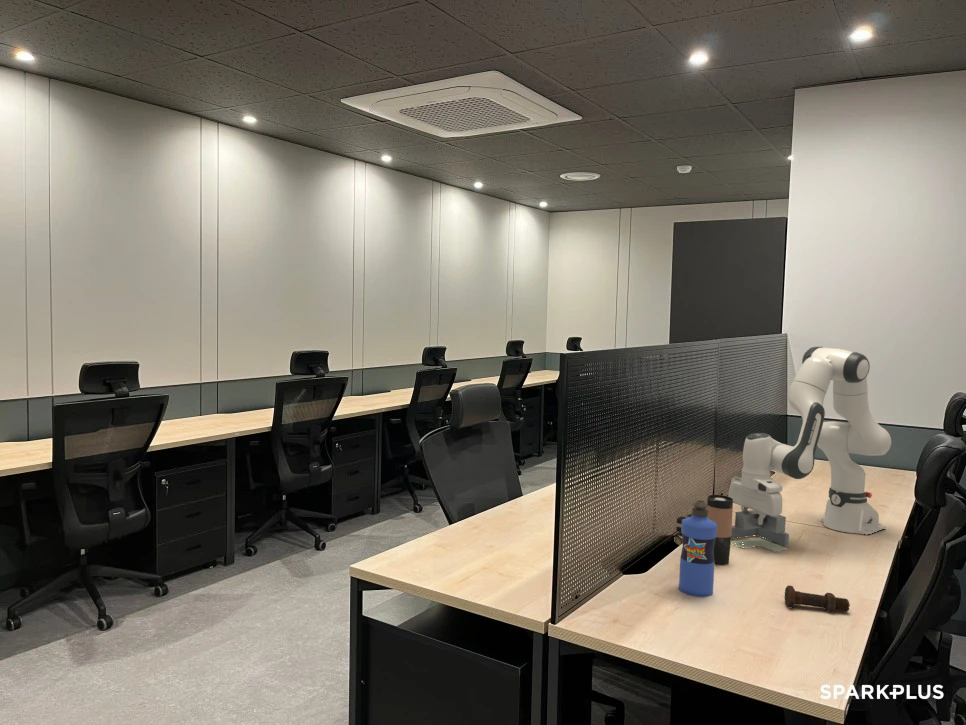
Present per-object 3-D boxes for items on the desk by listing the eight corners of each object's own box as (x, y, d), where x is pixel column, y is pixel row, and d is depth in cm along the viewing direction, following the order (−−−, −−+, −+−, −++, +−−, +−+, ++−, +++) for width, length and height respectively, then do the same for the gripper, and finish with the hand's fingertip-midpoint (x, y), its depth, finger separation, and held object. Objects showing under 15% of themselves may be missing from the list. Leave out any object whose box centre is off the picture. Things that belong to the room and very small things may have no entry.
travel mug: (729, 558, 217) (733, 496, 215) (729, 566, 209) (733, 502, 208) (704, 555, 219) (707, 493, 218) (703, 563, 212) (707, 499, 211)
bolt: (847, 620, 178) (785, 611, 181) (843, 604, 182) (783, 595, 185) (853, 606, 175) (790, 597, 178) (849, 590, 179) (787, 581, 182)
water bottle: (683, 581, 196) (687, 495, 195) (716, 588, 192) (721, 500, 190) (674, 591, 188) (679, 502, 187) (709, 599, 184) (714, 507, 182)
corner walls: (756, 533, 244) (757, 522, 244) (788, 545, 232) (789, 534, 231) (719, 539, 237) (719, 527, 236) (749, 551, 224) (750, 539, 224)
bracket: (734, 526, 231) (735, 512, 231) (760, 523, 236) (761, 509, 236) (758, 535, 222) (759, 520, 222) (784, 531, 227) (785, 517, 227)
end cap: (692, 540, 234) (693, 521, 233) (675, 535, 239) (676, 516, 239) (709, 535, 240) (710, 516, 240) (692, 530, 246) (693, 511, 245)
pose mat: (759, 538, 238) (759, 537, 238) (788, 549, 227) (788, 548, 227) (729, 543, 232) (729, 542, 232) (756, 554, 222) (756, 553, 221)
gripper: (725, 475, 239) (722, 514, 240) (772, 489, 221) (770, 531, 221) (738, 474, 242) (736, 513, 243) (786, 487, 223) (784, 529, 224)
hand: (752, 522), depth 232 cm, fingers closed on bracket, 4 cm apart
